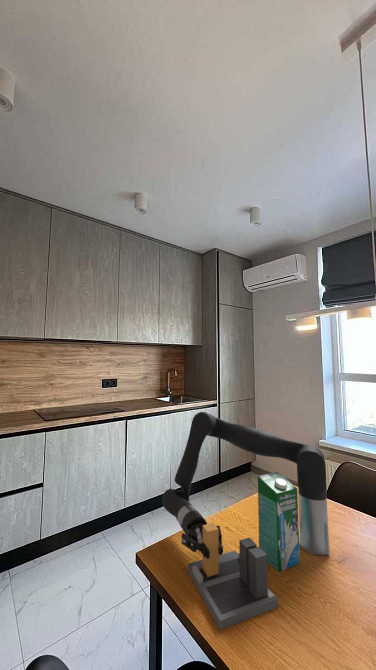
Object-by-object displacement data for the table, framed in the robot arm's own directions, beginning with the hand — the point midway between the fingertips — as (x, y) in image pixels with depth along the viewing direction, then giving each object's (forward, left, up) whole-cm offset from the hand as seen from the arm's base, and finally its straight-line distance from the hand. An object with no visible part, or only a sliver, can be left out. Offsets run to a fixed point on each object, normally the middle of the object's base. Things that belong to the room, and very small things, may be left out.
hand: (215, 553), depth 79 cm
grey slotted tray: (-3, -2, -9) cm, 10 cm away
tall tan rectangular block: (+2, -2, -6) cm, 7 cm away
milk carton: (-14, -21, -9) cm, 27 cm away
